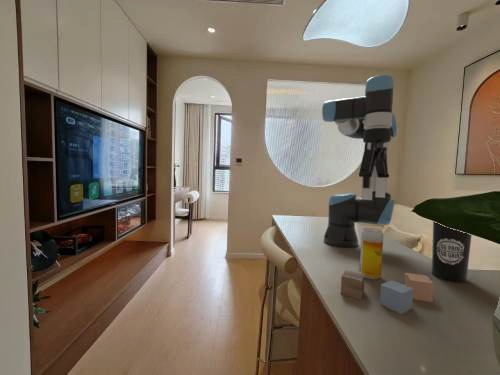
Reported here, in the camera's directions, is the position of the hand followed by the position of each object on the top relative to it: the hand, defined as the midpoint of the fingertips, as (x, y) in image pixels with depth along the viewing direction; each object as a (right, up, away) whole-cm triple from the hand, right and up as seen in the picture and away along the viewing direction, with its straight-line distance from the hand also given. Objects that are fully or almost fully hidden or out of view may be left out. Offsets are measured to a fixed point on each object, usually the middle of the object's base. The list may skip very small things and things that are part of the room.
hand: (373, 198), depth 73 cm
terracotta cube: (+6, -26, -10) cm, 28 cm away
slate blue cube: (-3, -26, -15) cm, 30 cm away
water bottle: (+25, -25, +2) cm, 36 cm away
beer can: (0, -25, +2) cm, 25 cm away
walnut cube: (-11, -25, -9) cm, 29 cm away
